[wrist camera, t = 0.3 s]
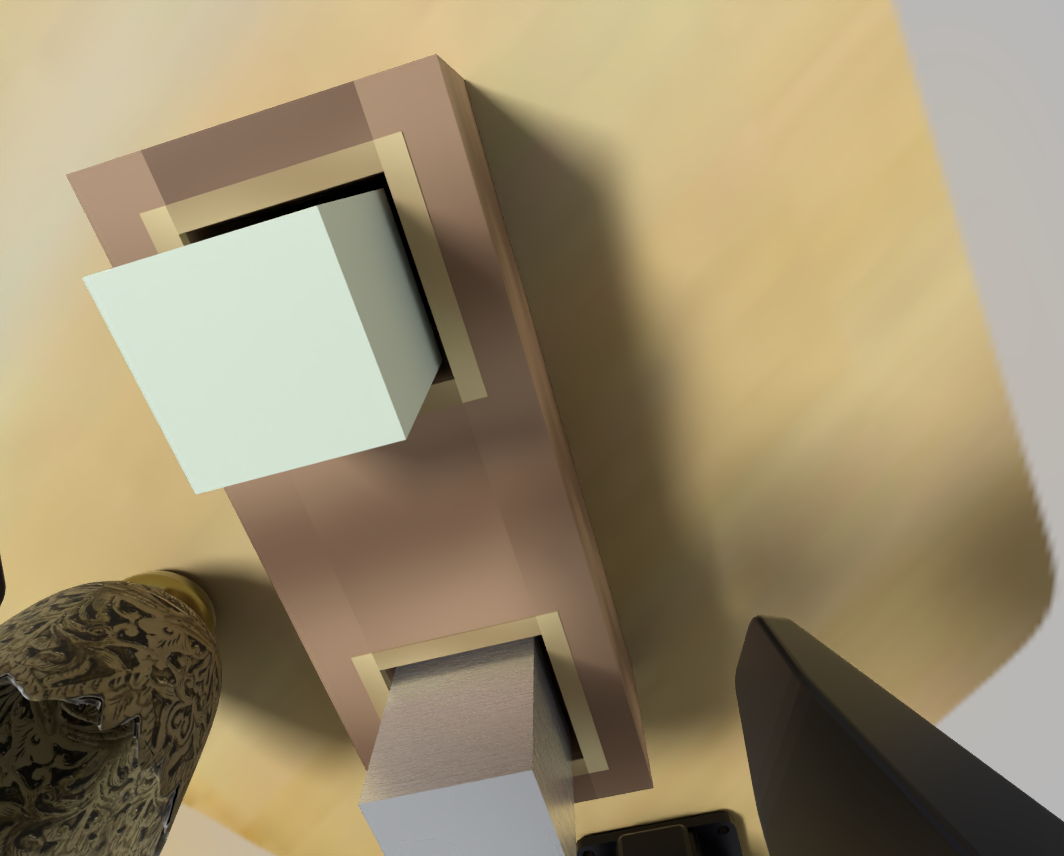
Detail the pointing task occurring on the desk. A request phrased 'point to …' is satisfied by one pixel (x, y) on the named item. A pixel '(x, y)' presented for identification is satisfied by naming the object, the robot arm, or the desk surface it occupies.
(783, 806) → the robot arm
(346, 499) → the walnut bar
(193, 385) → the sage peg
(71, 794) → the cup
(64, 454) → the desk surface
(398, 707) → the steel peg
